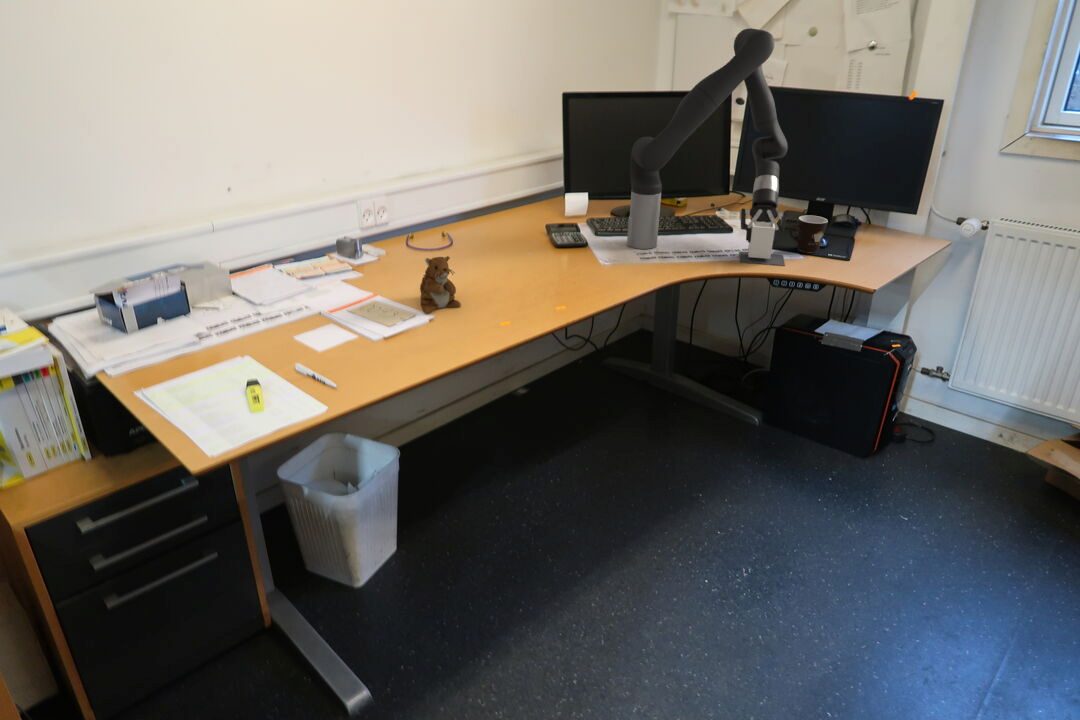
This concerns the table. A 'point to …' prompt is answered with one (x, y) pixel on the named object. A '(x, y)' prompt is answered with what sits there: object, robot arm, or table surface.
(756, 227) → the canister
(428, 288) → the brown plush animal
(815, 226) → the coffee mug
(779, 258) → the mat
